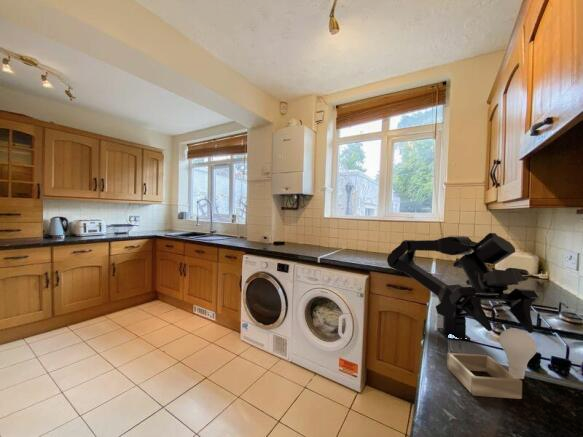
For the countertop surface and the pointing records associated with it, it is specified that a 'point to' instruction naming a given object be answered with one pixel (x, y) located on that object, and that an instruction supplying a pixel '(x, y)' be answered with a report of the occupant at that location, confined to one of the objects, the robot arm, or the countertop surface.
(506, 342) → the lightbulb
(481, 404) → the countertop surface
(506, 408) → the countertop surface
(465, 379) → the tray
